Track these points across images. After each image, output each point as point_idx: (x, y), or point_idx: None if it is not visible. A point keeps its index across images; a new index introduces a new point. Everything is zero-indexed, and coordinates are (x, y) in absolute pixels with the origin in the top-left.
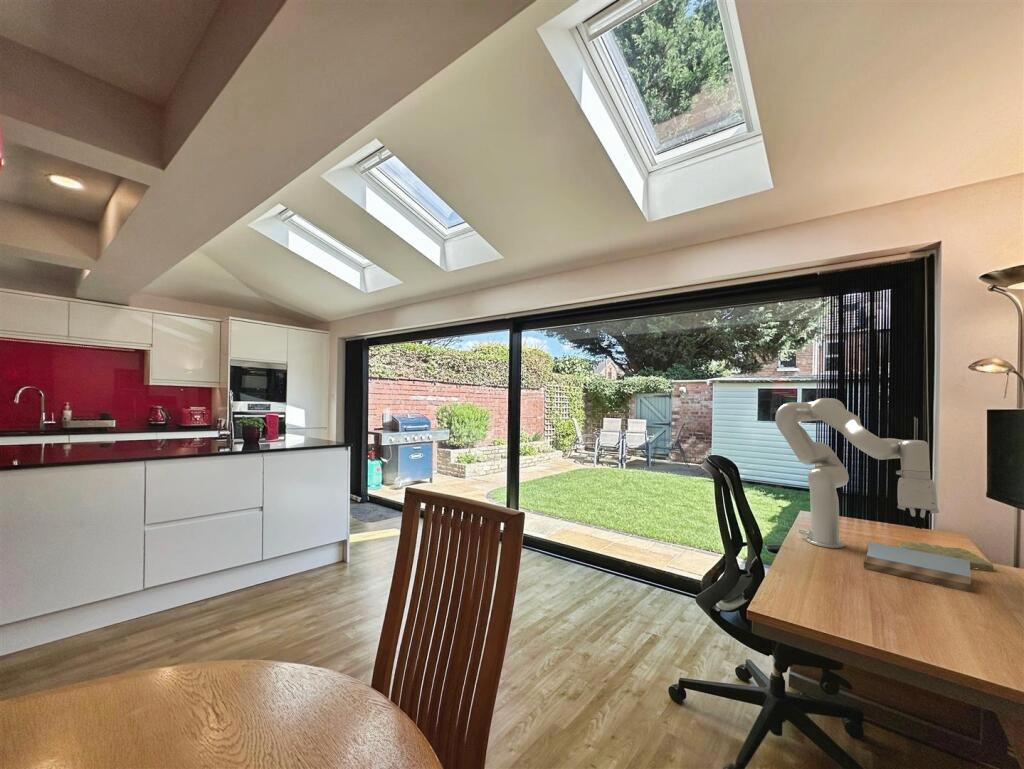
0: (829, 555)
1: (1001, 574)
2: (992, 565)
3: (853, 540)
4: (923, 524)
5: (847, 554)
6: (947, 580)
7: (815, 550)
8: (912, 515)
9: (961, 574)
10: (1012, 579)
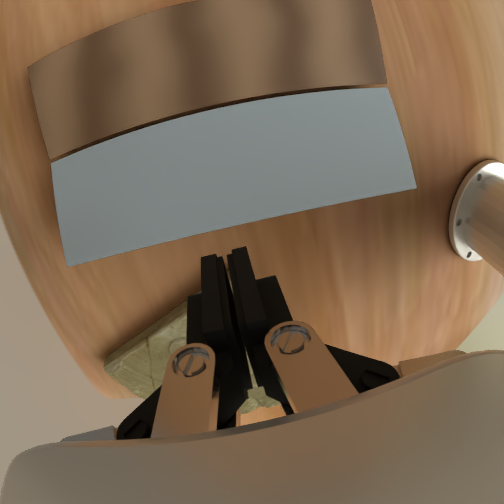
0: (461, 74)
1: (85, 345)
2: (104, 368)
3: (424, 316)
4: (192, 302)
5: (433, 137)
6: (85, 37)
7: (491, 101)
8: (296, 332)
9: (71, 158)
10: (56, 324)
